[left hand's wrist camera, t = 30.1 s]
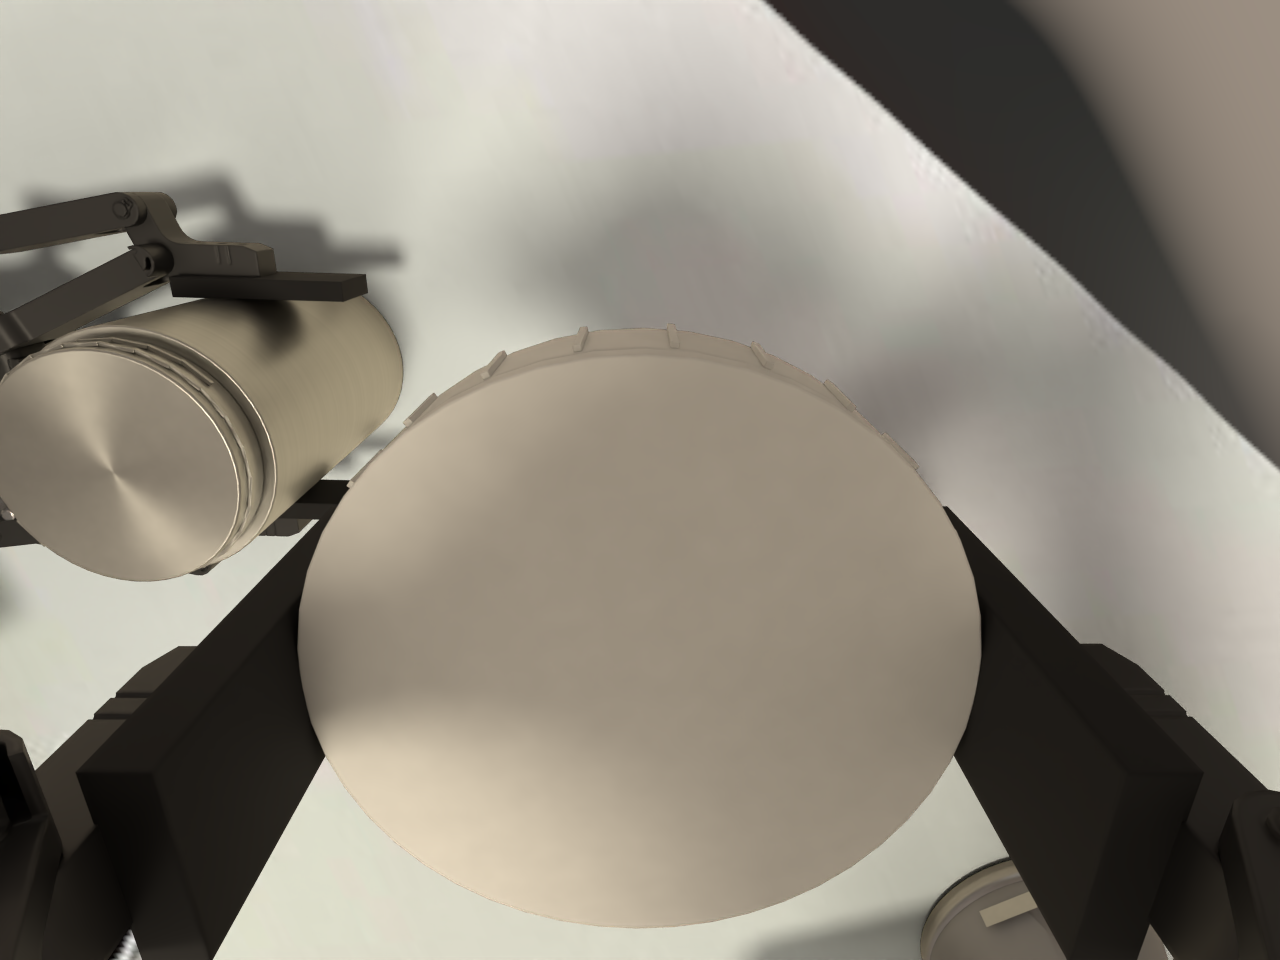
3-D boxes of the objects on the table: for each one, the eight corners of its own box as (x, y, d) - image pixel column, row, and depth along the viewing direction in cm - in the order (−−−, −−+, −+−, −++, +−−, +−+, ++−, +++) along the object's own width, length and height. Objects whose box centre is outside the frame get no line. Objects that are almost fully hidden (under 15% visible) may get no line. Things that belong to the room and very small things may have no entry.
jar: (325, 240, 35) (103, 275, 20) (437, 387, 38) (310, 509, 23) (196, 338, 37) (-92, 434, 22) (312, 472, 39) (121, 635, 25)
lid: (278, 744, 13) (224, 827, 11) (446, 205, 10) (406, 209, 8) (769, 899, 15) (785, 994, 13) (1058, 474, 11) (1134, 524, 10)
